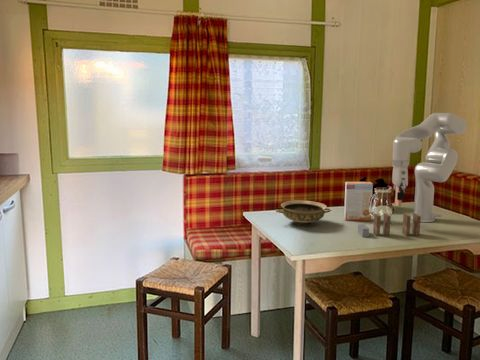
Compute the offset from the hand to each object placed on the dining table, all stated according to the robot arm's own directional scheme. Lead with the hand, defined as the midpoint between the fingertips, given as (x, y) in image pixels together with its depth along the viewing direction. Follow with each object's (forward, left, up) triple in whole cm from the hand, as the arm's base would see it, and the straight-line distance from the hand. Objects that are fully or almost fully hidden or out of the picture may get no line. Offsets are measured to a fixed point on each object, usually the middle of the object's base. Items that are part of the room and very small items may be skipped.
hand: (398, 198), depth 228 cm
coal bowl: (0, -40, -15) cm, 43 cm away
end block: (+21, +13, -15) cm, 29 cm away
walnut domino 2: (+10, +13, -15) cm, 23 cm away
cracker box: (+16, -15, -15) cm, 27 cm away
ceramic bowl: (+47, -7, -15) cm, 50 cm away
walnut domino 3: (0, +13, -15) cm, 20 cm away
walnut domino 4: (-5, +13, -15) cm, 21 cm away
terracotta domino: (0, 0, -3) cm, 3 cm away
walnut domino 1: (+15, +13, -15) cm, 25 cm away
